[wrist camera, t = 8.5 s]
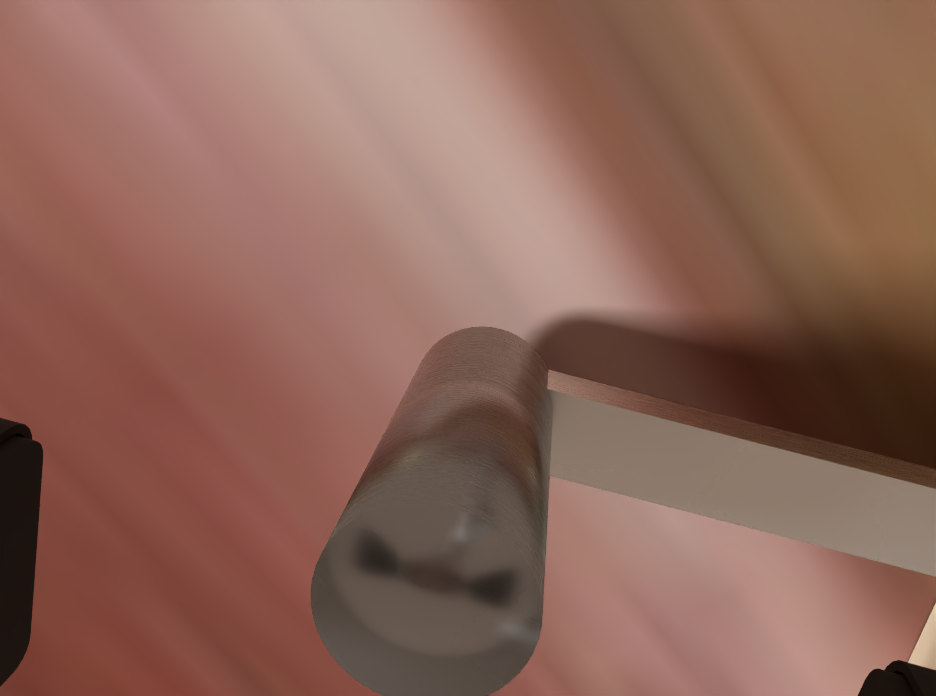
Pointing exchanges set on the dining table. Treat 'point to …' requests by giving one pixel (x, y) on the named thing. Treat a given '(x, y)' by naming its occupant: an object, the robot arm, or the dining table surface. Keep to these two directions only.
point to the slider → (526, 507)
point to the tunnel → (926, 645)
